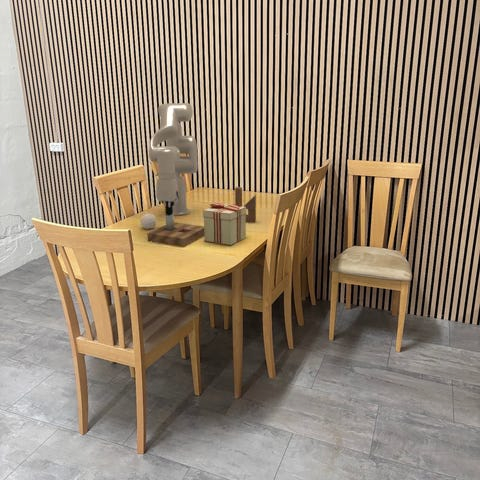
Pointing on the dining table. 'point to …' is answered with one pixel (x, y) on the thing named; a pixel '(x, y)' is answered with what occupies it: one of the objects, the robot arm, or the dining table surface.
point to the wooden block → (246, 205)
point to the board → (177, 234)
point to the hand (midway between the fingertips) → (169, 214)
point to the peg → (169, 222)
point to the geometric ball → (148, 221)
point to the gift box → (224, 223)
